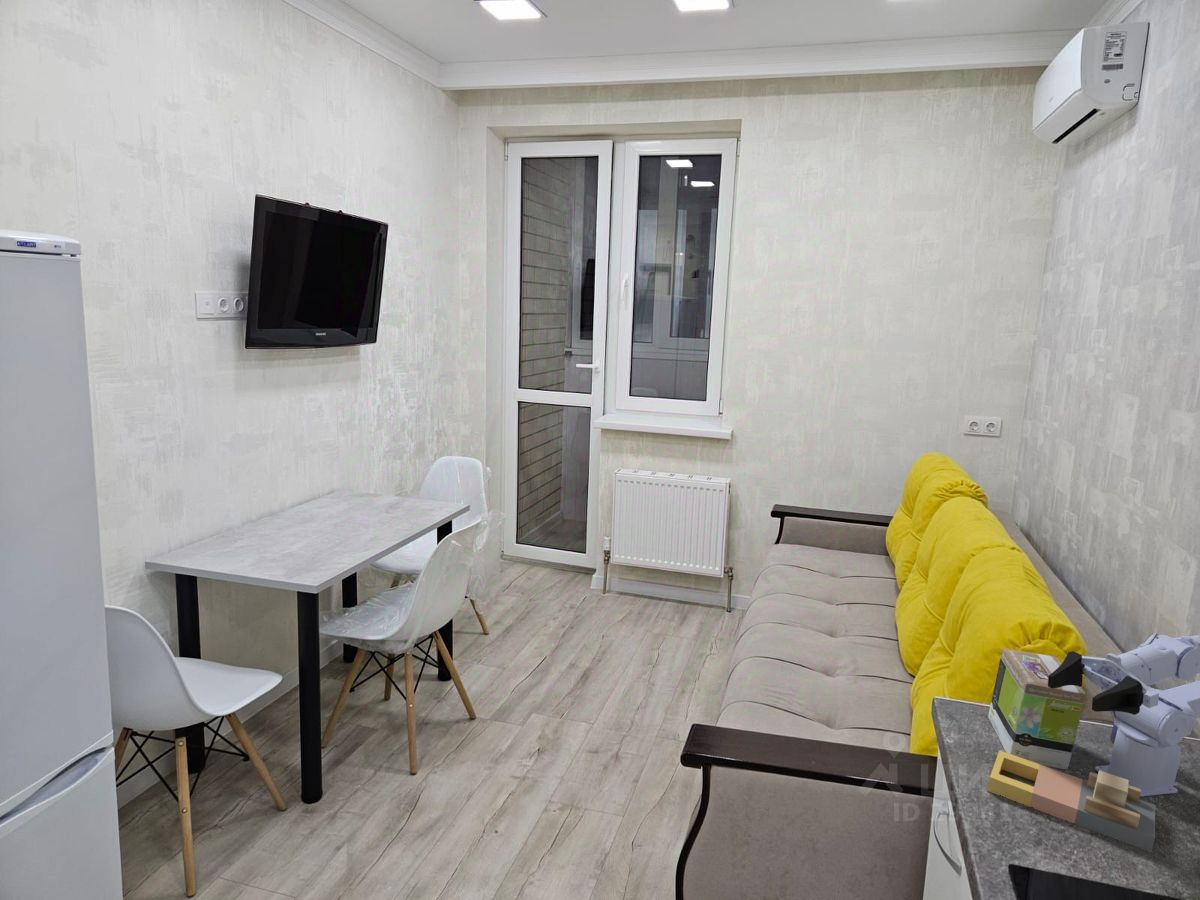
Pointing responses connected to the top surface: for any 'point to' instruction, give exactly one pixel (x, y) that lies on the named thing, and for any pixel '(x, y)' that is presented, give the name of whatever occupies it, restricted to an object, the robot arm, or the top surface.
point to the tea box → (1035, 709)
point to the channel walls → (1113, 806)
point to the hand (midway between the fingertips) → (1071, 692)
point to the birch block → (1111, 789)
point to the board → (1066, 799)
